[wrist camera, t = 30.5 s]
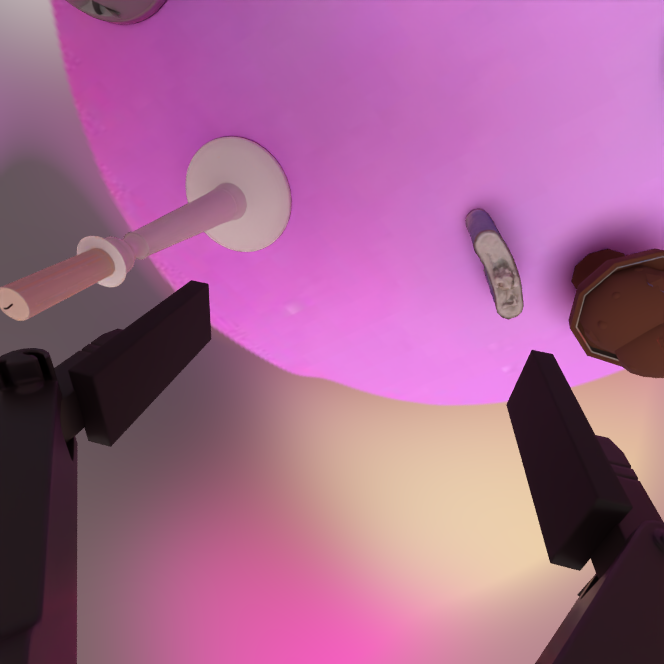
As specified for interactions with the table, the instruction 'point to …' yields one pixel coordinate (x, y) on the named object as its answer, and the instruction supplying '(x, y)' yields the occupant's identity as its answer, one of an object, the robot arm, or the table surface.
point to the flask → (496, 264)
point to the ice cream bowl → (621, 309)
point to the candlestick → (174, 225)
